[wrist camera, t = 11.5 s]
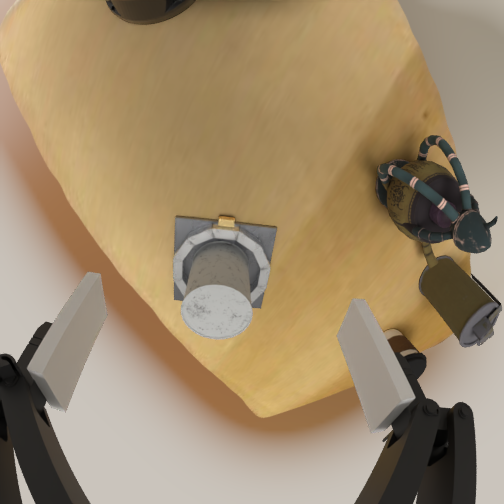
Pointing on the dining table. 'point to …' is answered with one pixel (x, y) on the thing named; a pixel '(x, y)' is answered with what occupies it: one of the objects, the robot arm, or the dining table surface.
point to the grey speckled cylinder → (218, 292)
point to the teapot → (433, 202)
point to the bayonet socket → (225, 229)
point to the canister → (460, 301)
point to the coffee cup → (406, 351)
